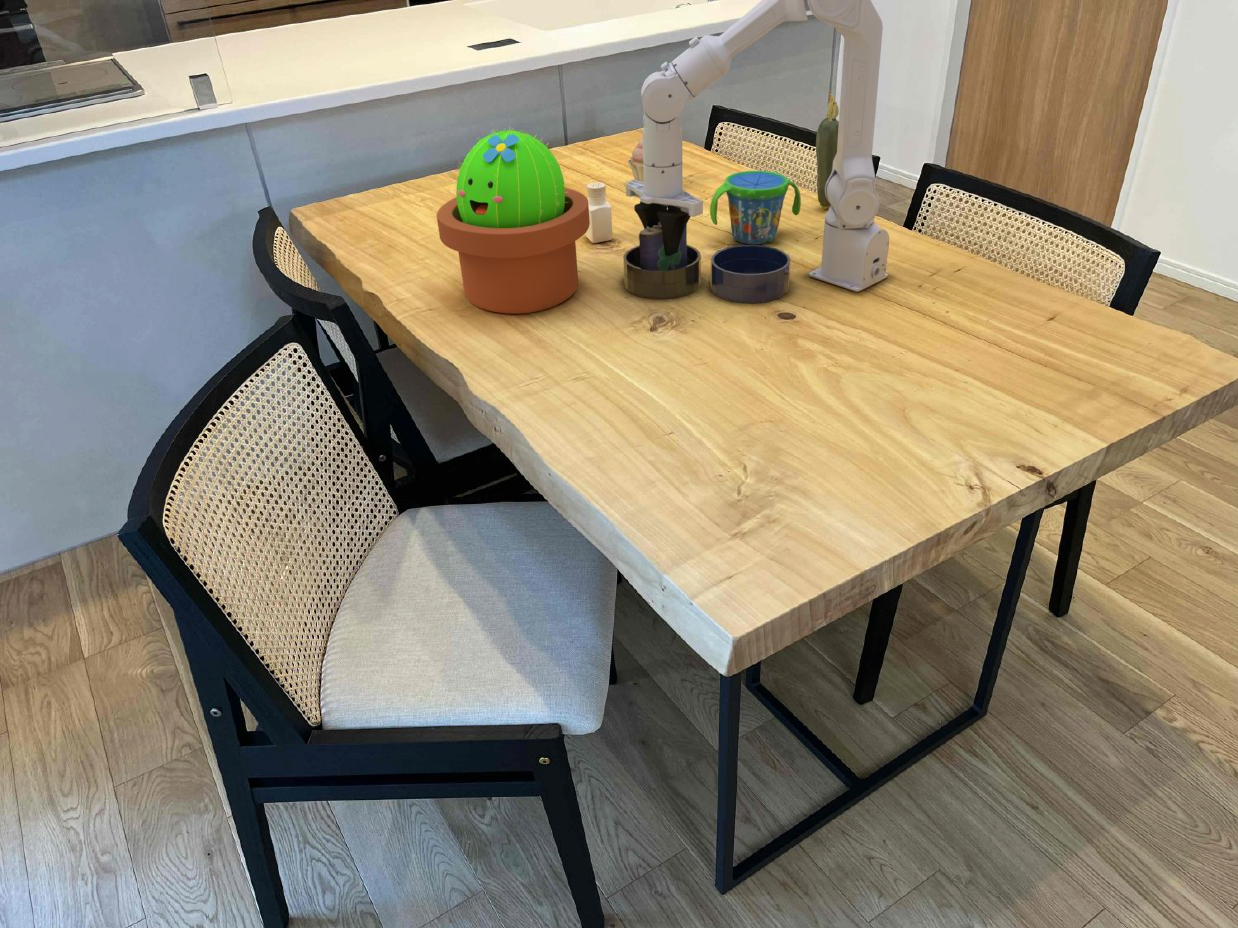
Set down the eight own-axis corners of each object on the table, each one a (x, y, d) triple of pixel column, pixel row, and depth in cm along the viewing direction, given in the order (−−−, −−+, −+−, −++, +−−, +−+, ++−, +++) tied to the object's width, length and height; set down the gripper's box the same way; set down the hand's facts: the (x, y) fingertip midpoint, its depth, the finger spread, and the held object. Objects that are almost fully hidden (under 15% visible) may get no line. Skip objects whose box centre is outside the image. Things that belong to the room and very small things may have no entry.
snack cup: (789, 224, 165) (793, 166, 160) (807, 245, 157) (812, 185, 151) (703, 231, 164) (703, 174, 158) (716, 253, 155) (717, 193, 150)
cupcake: (683, 180, 188) (682, 129, 183) (660, 194, 182) (659, 142, 176) (643, 174, 193) (642, 125, 187) (619, 188, 186) (617, 136, 181)
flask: (679, 270, 150) (679, 205, 143) (692, 275, 148) (692, 209, 142) (636, 287, 145) (634, 220, 139) (649, 293, 143) (648, 225, 137)
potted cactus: (507, 256, 159) (489, 103, 144) (618, 277, 149) (610, 115, 135) (422, 305, 143) (393, 139, 129) (539, 333, 133) (521, 157, 119)
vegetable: (835, 214, 168) (845, 98, 157) (810, 213, 169) (819, 98, 158) (835, 206, 172) (845, 92, 161) (811, 205, 173) (819, 92, 162)
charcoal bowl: (716, 282, 146) (716, 254, 143) (661, 306, 139) (660, 278, 137) (663, 262, 153) (662, 236, 151) (608, 284, 147) (607, 257, 144)
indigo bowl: (804, 286, 143) (806, 258, 141) (752, 310, 137) (754, 281, 134) (746, 265, 151) (747, 239, 148) (694, 288, 144) (694, 260, 142)
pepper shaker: (614, 240, 162) (611, 186, 157) (592, 244, 161) (589, 190, 156) (605, 233, 165) (602, 180, 160) (584, 237, 164) (581, 183, 159)
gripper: (609, 158, 138) (613, 246, 146) (678, 178, 129) (679, 270, 137) (643, 148, 142) (645, 234, 149) (713, 166, 133) (712, 257, 140)
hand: (663, 251), depth 143 cm, fingers closed on flask, 3 cm apart
